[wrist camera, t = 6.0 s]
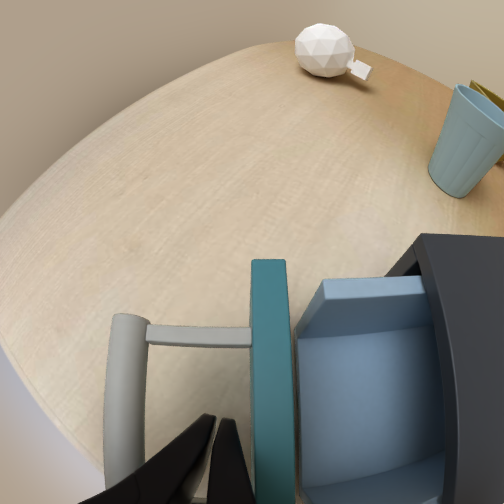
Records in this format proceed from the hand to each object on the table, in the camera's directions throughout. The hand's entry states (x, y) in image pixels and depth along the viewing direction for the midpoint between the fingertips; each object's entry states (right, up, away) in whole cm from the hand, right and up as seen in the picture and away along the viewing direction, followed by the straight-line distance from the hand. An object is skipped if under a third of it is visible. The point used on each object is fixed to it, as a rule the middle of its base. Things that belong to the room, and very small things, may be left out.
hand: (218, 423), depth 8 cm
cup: (+23, +13, +17) cm, 31 cm away
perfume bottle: (+12, +31, +28) cm, 44 cm away
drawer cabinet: (+15, -4, +7) cm, 17 cm away
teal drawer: (+5, -3, +6) cm, 8 cm away
